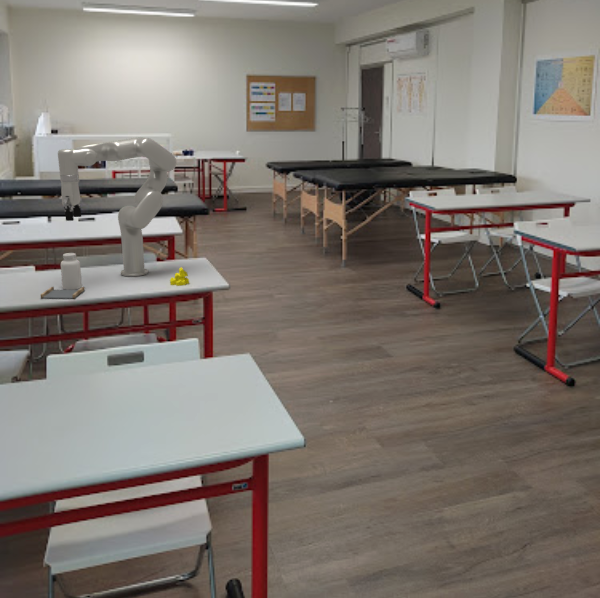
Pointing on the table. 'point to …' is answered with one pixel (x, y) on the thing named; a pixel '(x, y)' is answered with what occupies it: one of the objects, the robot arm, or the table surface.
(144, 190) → the robot arm
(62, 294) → the grey tray
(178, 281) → the yellow lumpy pyramid
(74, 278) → the pill bottle
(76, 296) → the rails
